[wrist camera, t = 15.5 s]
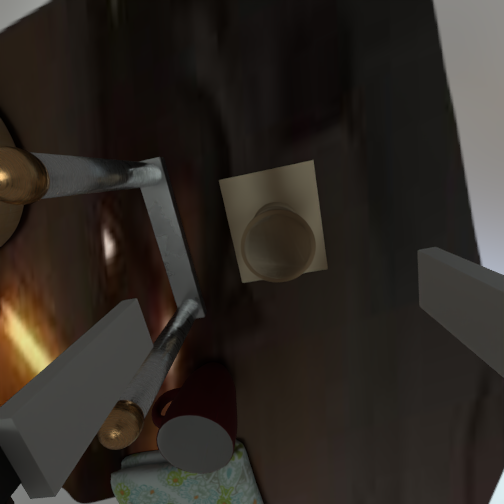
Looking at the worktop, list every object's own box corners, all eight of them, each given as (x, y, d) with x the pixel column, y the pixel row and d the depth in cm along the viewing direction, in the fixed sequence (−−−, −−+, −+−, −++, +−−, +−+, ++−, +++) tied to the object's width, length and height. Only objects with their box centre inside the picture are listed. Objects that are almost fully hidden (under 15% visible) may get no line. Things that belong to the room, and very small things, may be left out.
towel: (118, 452, 43) (98, 488, 38) (244, 433, 40) (241, 470, 35) (158, 526, 47) (145, 567, 42) (274, 514, 44) (274, 557, 39)
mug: (181, 404, 38) (152, 482, 29) (160, 359, 36) (121, 426, 27) (251, 391, 37) (244, 468, 27) (233, 343, 35) (219, 407, 25)
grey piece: (184, 315, 34) (95, 463, 17) (138, 163, 29) (-59, 149, 12) (206, 312, 34) (139, 460, 16) (163, 157, 29) (0, 133, 11)
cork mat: (243, 280, 32) (242, 283, 31) (220, 180, 29) (218, 180, 28) (326, 266, 31) (327, 269, 30) (312, 160, 28) (313, 160, 27)
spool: (255, 255, 30) (248, 287, 22) (244, 205, 29) (233, 218, 20) (306, 246, 30) (320, 276, 21) (298, 194, 28) (310, 203, 19)
